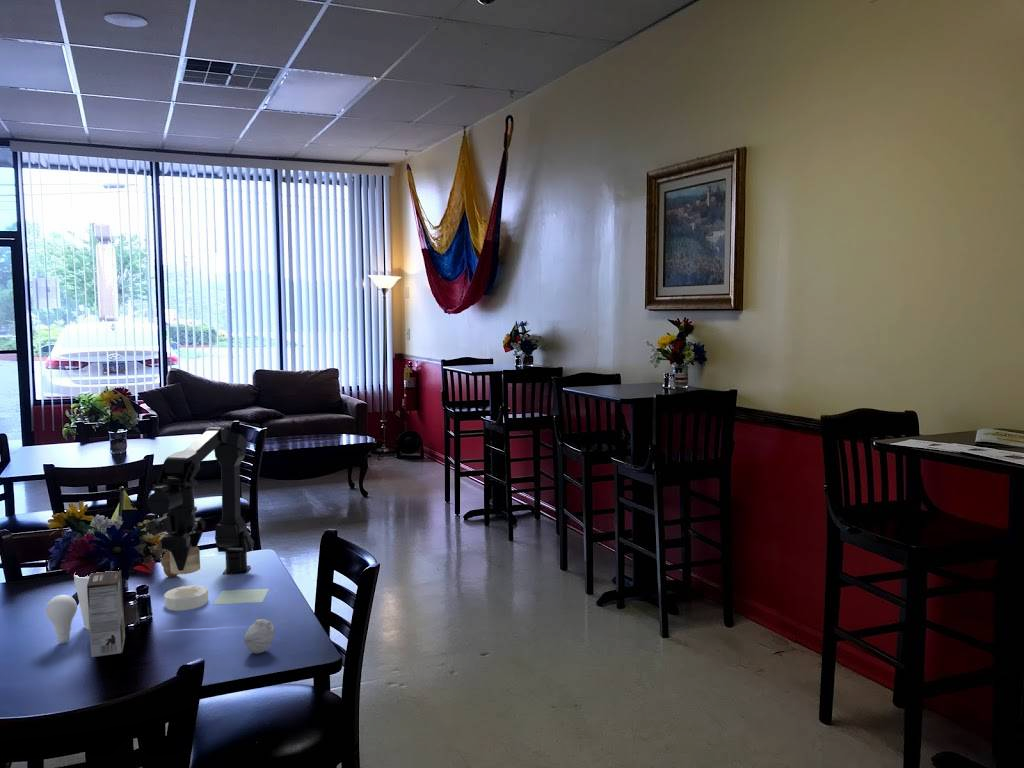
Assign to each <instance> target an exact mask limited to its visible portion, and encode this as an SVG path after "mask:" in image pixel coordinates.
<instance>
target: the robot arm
mask: <svg viewBox="0 0 1024 768" xmlns="http://www.w3.org/2000/svg"><path fill="white" fill-rule="evenodd" d="M247 446H248V441H247V439H246V437H244V436H243V434H241V433H240V434H239V433H236V432H233V431H230V430H228V429H227V428H225V427H221V426H219V427H217V426H214V427H213V426H211V427H210V426H209V427H207V428H205V429H204V432H203V433H202V434H201V435H200V436H199V437H198V438H196V439H195V441H194V442H192V443H191V444H190V445H189V446H188V447H187V448H185V449H183V450H181V451H176V452H174V453H173V454H170V455H168V456H167V457H166V458H165V459H164V462H163V464H162V467H161V469H160V473H159V475H158V478H157V481H156V483H155V484H156V486H155V487H154V492H153V493H151V494H150V495H149V496H148V498H147V501H146V506H147V508H148V511H149V512H150V513H151V514H152V515H154V516H157V517H158V516H159V518H153V519H152V520H148V521H147V523H146V525H145V533H146V534H149V535H150V534H152V535H154V536H153V537H155V536H156V535H157V534H159V533H161V532H164V531H166V530H167V533H168V534H166V535H165V536H164V537H163V538H162V539H161V540H160V548H161V549H165V550H168V551H170V552H171V553H172V555H173V557H174V560H175V562H176V565H177V568H178V570H179V571H183V570H184V567H185V564H186V561H187V557H188V554H189V551H190V548H191V546H193V547H198V545H199V543H200V540H201V538H202V535H203V533H204V530H205V529H206V520H205V519H203V518H202V517H196V512H197V510H198V507H197V506H195V489H194V485H198V480H196V479H195V477H196V475H197V474H198V472H199V471H200V470H201V465H200V464H201V463H202V461H203V460H205V459H206V458H207V457H208V456H209V455H210V453H211V452H213V451H214V457H215V459H216V461H217V462H218V463H219V465H220V467H221V469H220V471H221V472H220V473H221V509H222V510H221V513H222V514H221V515H222V516H221V518H220V521H219V522H218V523H217V524H215V527H214V531H215V533H214V541H215V544H216V548H217V552H218V553H224V554H225V569H224V571H223V572H222V575H244V574H247V573H248V572H249V570H250V569H251V565H248V560H247V559H248V557H247V553H249V552H252V551H253V549H254V545H255V541H254V539H253V538H252V536H251V535H250V534H249V532H248V525H247V523H246V521H245V520H244V518H243V517H242V515H241V514H242V513H241V463H242V462H243V460H244V459H245V457H246V453H247ZM164 514H167V516H164V517H163V515H164ZM198 529H199V530H198ZM172 532H174V533H172Z"/></svg>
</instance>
